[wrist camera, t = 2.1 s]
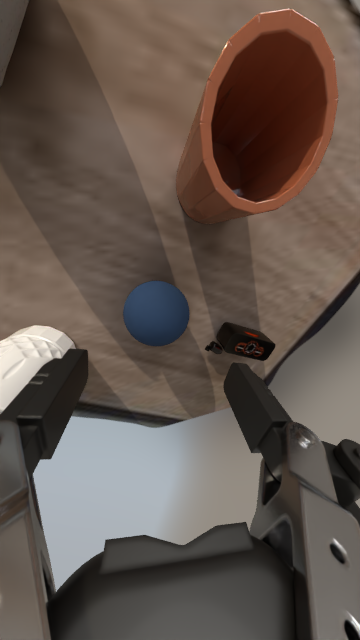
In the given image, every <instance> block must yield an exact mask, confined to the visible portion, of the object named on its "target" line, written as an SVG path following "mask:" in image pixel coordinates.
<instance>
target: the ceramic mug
mask: <svg viewBox="0 0 360 640" xmlns="http://www.w3.org/2000/svg"><path fill="white" fill-rule="evenodd" d="M28 2H29V0H0V87H1V86H2V83H3V80H4V76H5V72H6V69H7V66H8V63H9V61H10V58H11V55H12V52H13V49H14V46H15V43H16V40H17V37H18V34H19V31H20V27H21V24H22V21H23V18H24V15H25V12H26V8H27V5H28Z"/></svg>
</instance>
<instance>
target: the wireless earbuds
mask: <svg viewBox="0 0 360 640" xmlns="http://www.w3.org/2000/svg"><path fill="white" fill-rule="evenodd" d="M217 339H218V340H219V342H220V344H221V345H222V347H223V349H224V350H225V352H227V353H231V354H235V355H240V356H244V357H248V358H252V359H257V360H261V361H264V360H266V359H267V358H268V357H269V356H270V354H271V353H272V351H273V350H274V348H275V344H274V343H273V342H272V341H271V340H270V339H269V338H268V337H267V336H265V335H264V334H263V333H262V332H260V331H256V330H253V329H249V328H246V327H243V326H239V325H236V324H232V323H229V322H225V323H224V324H223V325H222V327H221V329H220V331H219V333H218V335H217ZM205 350H207V351H209V350H211V351H213V352H214V353H216V354H221V353H222V348H221V346H220V345H218V344H217V343H215V342H214V341H212V342H211V343H210V344H209V347H208V345H207V346H206V348H205Z"/></svg>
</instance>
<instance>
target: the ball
mask: <svg viewBox="0 0 360 640" xmlns="http://www.w3.org/2000/svg"><path fill="white" fill-rule="evenodd" d="M123 316H124V322H125V325H126V327H127V329H128V331H129V332H130V334H131V335H132V336H133V337H134V338H135V339H136V340H138V341H139V342H141V343H143V344H146V345H150V346H163V345H167V344H170V343H172V342H174V341H175V340H177V339H178V338H179V337H180V336H181V335H182V334H183V332H184V331H185V329H186V327H187V324H188V321H189V306H188V303H187V300H186V298H185V296H184V295H183V294H182V292H181V291H180V290H179V289H178V288H176V287H175V286H173V285H172V284H169V283H167V282H163V281H149V282H146V283H143V284H141V285H139V286H138V287H136V288H135V289H134V290H133V291H132V292H131V293H130V294H129V296H128V297H127V299H126V302H125V305H124V310H123Z"/></svg>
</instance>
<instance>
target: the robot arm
mask: <svg viewBox="0 0 360 640" xmlns="http://www.w3.org/2000/svg"><path fill="white" fill-rule="evenodd" d="M87 379H88V351H87V350H84V349H72V348H70V349H68V350H67V352H66V353H65V354H64V356H63V357H62V358H54V359H52V360H51V361H49V362H47V363H46V364H44V365H43V366H42V367H41V368H40V369H39V371H38V372H37V373H36V374H35V376H33V377H32V379H31V380H30V381H29V382H28V384H26V385H25V387H24V388H23V389H22V390H21V391H20V392H19V394H18V395H17V396H16V397H15V398H14V399H13V400H12V402H11V403H10V404H9V405H8V406H7V407H6V408H5V410H4V411H3V412H2V413H1V414H0V640H360V508H359V507H358V505H357V504H356V503H355V501H356V500H358V499H359V498H360V444H358V443H356V442H354V441H351V440H348V439H344V440H342V441H341V442H340V443H339V444H338V445H337V446H335V445H333V444H329V443H327V442H324V441H321V440H320V439H319V438H318V437H317V436H316V435H315V434H314V433H313V432H312V431H311V430H310V429H308V428H307V427H306V426H304V425H302V424H299V423H297V422H293V421H292V420H291V418H290V417H289V415H288V414H287V413H286V411H285V410H284V409H283V407H282V406H281V404H280V403H279V402H278V400H277V399H276V398H275V396H273V394H272V392H271V391H270V390H269V389H268V387H267V386H266V384H265V383H264V381H263V380H262V379H261V378H260V377H258V376H257V375H256V374H255V373H253V372H252V370H251V369H250V367H249V366H248V365H247V364H243V363H232V365H231V367H230V369H229V372H228V374H227V376H226V379H225V381H224V392H225V394H226V397H227V399H228V401H229V403H230V406H231V408H232V410H233V412H234V414H235V417H236V419H237V421H238V424H239V426H240V428H241V431H242V433H243V435H244V437H245V440H246V442H247V444H248V446H249V449H250V451H251V453H261V454H262V456H263V459H262V461H261V467H260V478H259V490H258V500H257V508H256V512H255V515H254V518H253V520H252V523H251V527H250V532H249V530H248V527H247V524H246V522H243V523H234V524H226V525H218V526H215V527H213V528H212V529H210V530H209V531H207V532H205V533H203V534H202V535H200V536H199V537H197V538H196V539H194V540H193V541H191V542H189V543H187V544H186V545H178V544H174V543H171V542H167V541H164V540H160V539H157V538H153V537H150V536H147V535H140V536H133V537H124V538H117V539H109V540H106V541H105V548H104V551H103V552H101V553H100V554H98V555H96V556H94V557H93V558H91V559H90V560H89V561H87V562H86V563H84V564H83V565H82V566H81V567H80V568H79V569H78V570H76V571H75V572H74V573H73V574H72V575H71V576H70V577H69V578H68V579H67V580H66V582H65V583H64V584H63V585H62V586H61V587H60V588H59V589H58V590H57V592H56V589H55V584H54V579H53V574H52V568H51V563H50V558H49V553H48V549H47V544H46V541H45V536H44V531H43V526H42V521H41V516H40V510H39V505H38V500H37V494H36V489H35V484H34V478H33V472H34V470H35V468H36V466H37V464H38V462H39V460H40V459H51V458H52V456H53V454H54V451H55V449H56V447H57V445H58V443H59V441H60V439H61V436H62V434H63V432H64V430H65V428H66V425H67V424H68V422H69V419H70V417H71V415H72V413H73V411H74V409H75V407H76V405H77V402H78V400H79V398H80V396H81V394H82V392H83V390H84V388H85V385H86V383H87Z"/></svg>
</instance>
